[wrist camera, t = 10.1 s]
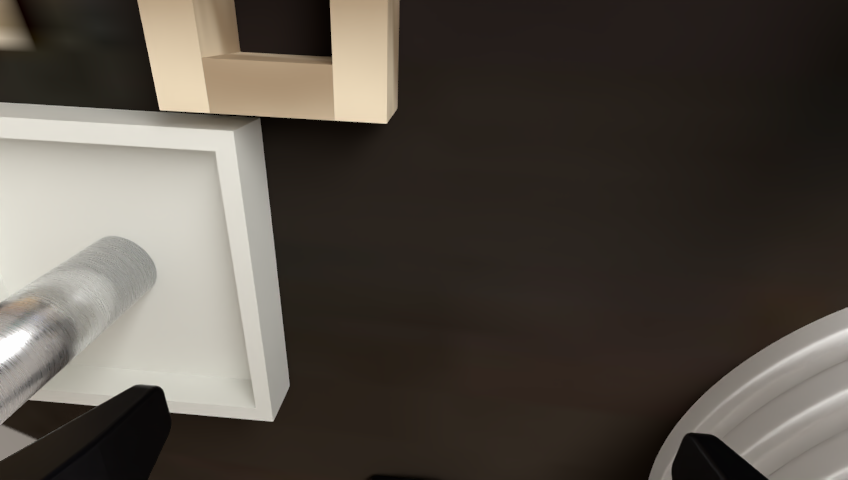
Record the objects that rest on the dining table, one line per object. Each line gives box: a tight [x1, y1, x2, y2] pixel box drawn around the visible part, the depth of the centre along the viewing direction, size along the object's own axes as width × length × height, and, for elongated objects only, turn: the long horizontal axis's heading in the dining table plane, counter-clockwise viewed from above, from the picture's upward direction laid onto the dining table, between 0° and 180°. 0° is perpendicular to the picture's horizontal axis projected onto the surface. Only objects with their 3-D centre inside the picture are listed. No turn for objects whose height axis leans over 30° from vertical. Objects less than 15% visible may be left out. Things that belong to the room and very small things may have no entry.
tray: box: [0, 102, 290, 422], centre depth 21 cm, size 15×15×2 cm
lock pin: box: [0, 236, 157, 425], centre depth 18 cm, size 3×3×9 cm
